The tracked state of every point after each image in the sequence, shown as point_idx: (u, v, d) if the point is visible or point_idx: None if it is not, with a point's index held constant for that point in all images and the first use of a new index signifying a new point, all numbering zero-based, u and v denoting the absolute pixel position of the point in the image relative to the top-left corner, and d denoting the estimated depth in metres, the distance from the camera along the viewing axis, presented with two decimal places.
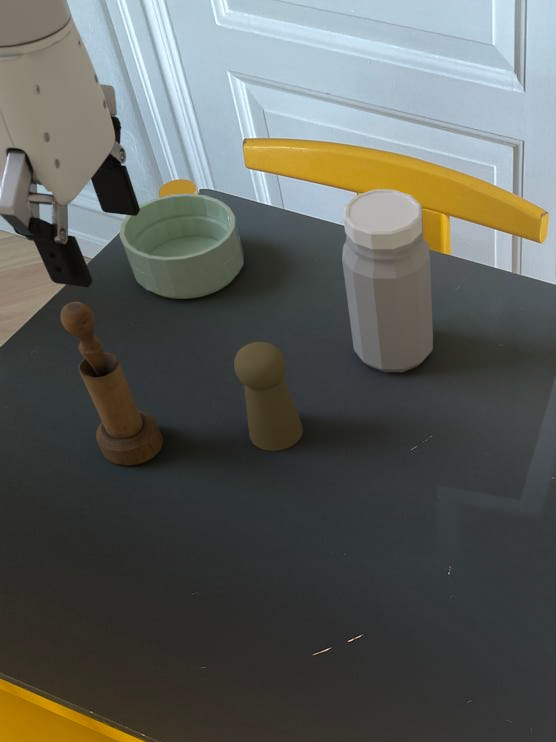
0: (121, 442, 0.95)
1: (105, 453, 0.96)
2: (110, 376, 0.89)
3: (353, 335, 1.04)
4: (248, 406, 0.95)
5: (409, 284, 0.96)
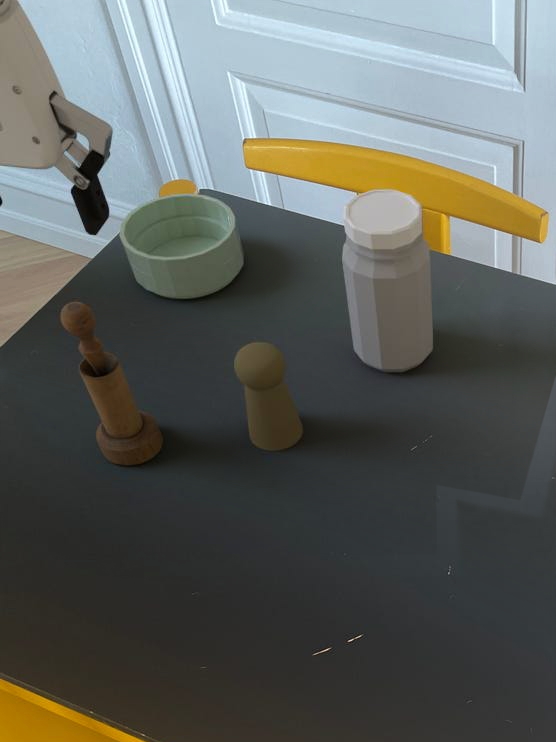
0: (121, 441, 0.95)
1: (105, 453, 0.96)
2: (110, 376, 0.89)
3: (353, 335, 1.04)
4: (248, 406, 0.95)
5: (409, 284, 0.96)
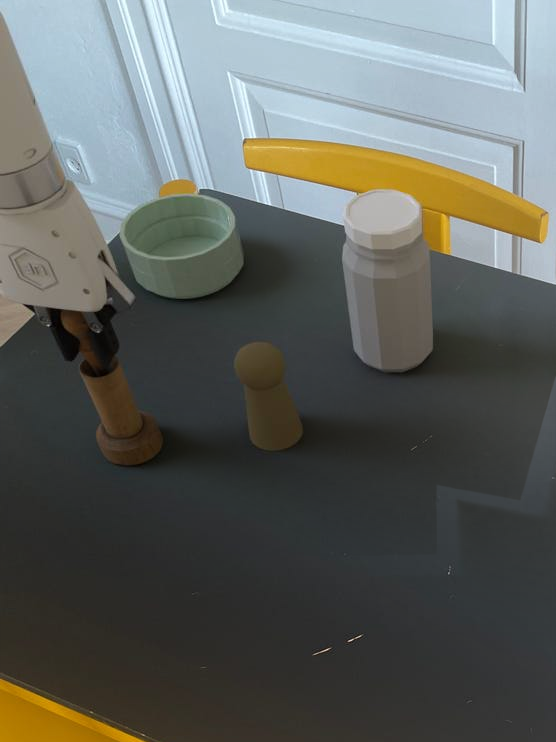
0: (121, 441, 0.95)
1: (105, 453, 0.96)
2: (110, 376, 0.89)
3: (353, 335, 1.04)
4: (248, 406, 0.95)
5: (409, 284, 0.96)
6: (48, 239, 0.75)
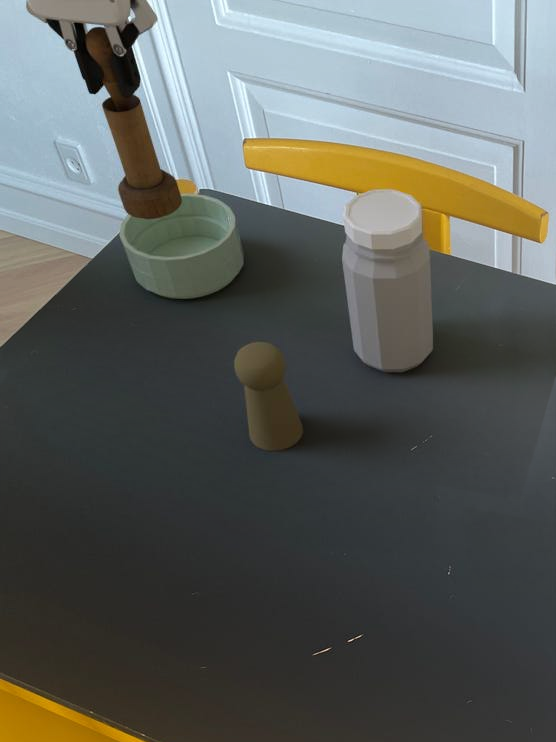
0: (142, 191, 0.99)
1: (126, 206, 1.00)
2: (132, 112, 0.93)
3: (353, 335, 1.04)
4: (248, 406, 0.95)
5: (409, 284, 0.96)
6: None
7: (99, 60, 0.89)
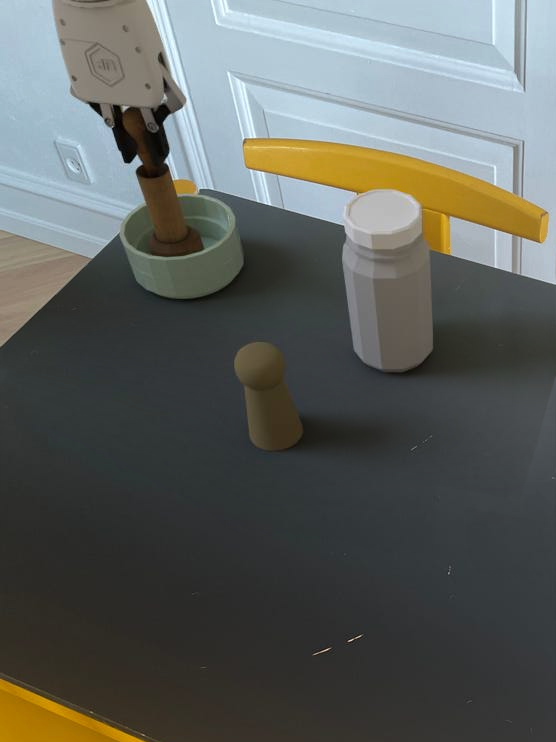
0: (170, 245, 1.11)
1: None
2: (162, 178, 1.05)
3: (353, 335, 1.04)
4: (248, 406, 0.95)
5: (409, 284, 0.96)
6: (119, 34, 0.90)
7: (134, 135, 1.01)
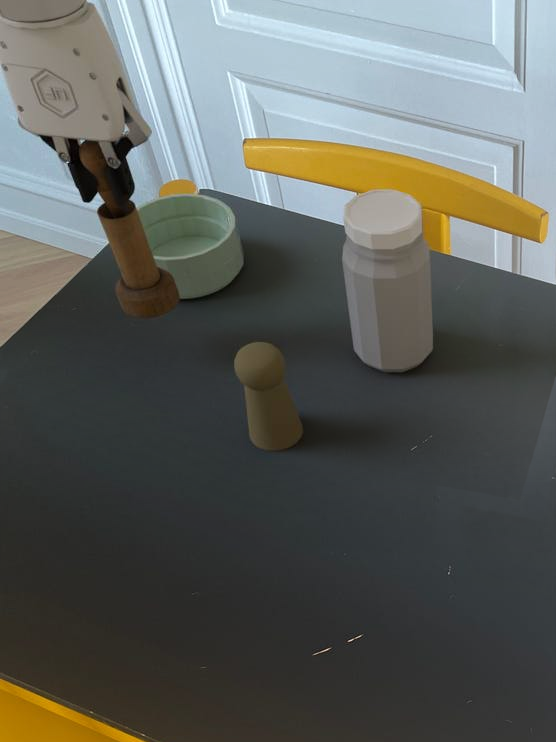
0: (139, 292, 0.98)
1: (124, 306, 0.99)
2: (127, 218, 0.92)
3: (353, 335, 1.04)
4: (248, 406, 0.95)
5: (409, 284, 0.96)
6: (70, 58, 0.78)
7: (93, 171, 0.88)
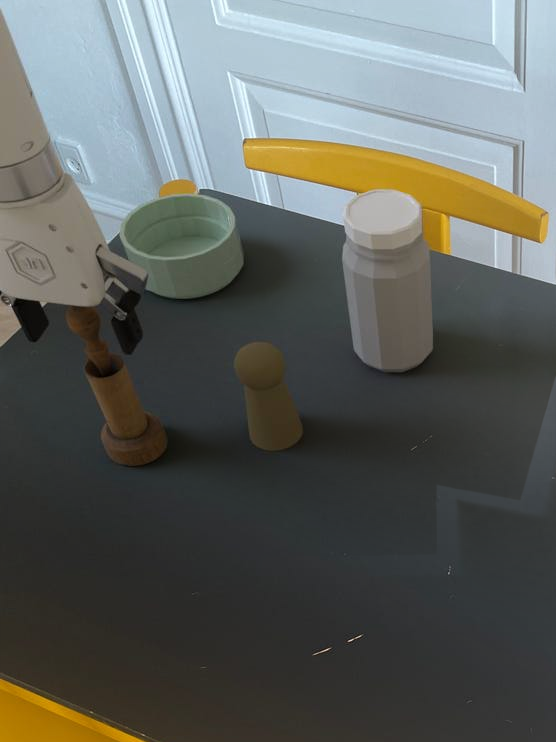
0: (126, 442, 0.95)
1: (110, 453, 0.96)
2: (115, 377, 0.89)
3: (353, 335, 1.04)
4: (248, 406, 0.95)
5: (409, 284, 0.96)
6: (45, 233, 0.74)
7: (80, 335, 0.85)
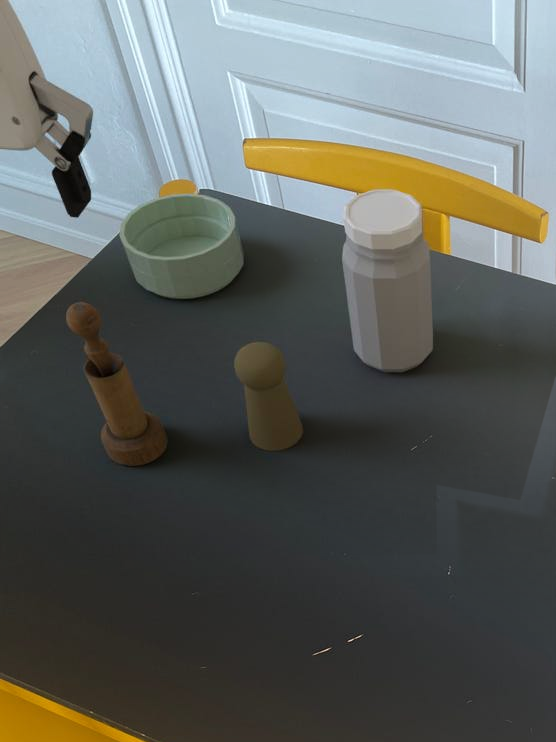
0: (126, 442, 0.95)
1: (110, 453, 0.96)
2: (115, 377, 0.89)
3: (353, 335, 1.04)
4: (248, 406, 0.95)
5: (409, 284, 0.96)
6: None
7: (81, 335, 0.85)
